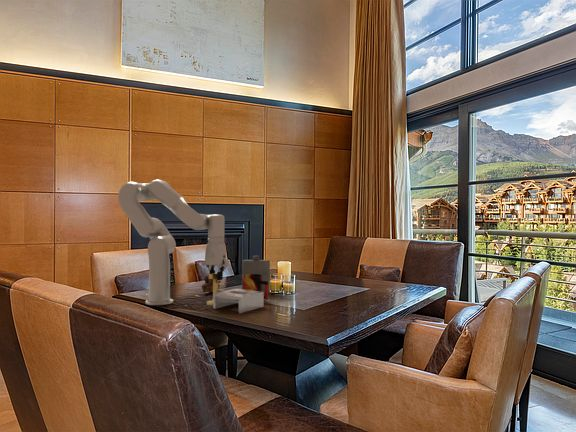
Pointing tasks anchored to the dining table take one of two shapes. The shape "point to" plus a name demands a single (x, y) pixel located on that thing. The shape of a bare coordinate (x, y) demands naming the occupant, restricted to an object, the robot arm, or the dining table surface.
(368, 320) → the dining table surface
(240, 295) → the white slotted holder
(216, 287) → the tall wooden post
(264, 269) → the flask
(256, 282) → the mug
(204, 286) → the wooden carving
